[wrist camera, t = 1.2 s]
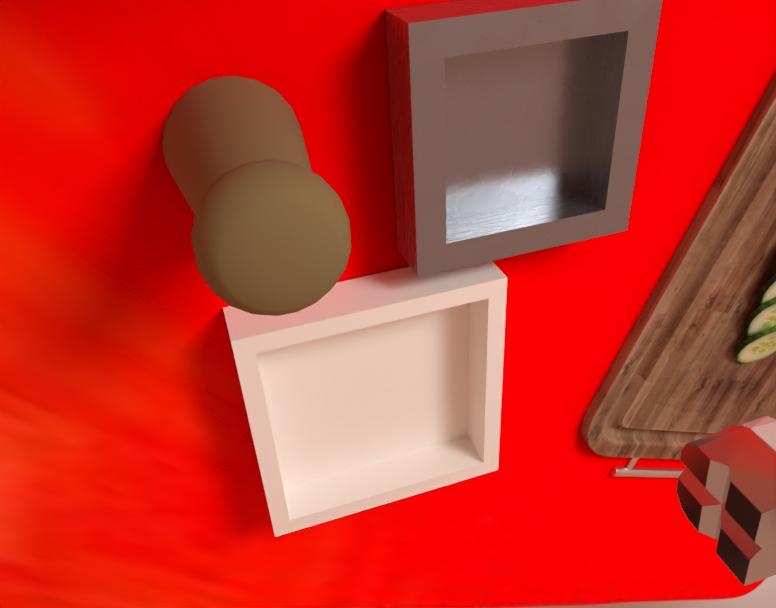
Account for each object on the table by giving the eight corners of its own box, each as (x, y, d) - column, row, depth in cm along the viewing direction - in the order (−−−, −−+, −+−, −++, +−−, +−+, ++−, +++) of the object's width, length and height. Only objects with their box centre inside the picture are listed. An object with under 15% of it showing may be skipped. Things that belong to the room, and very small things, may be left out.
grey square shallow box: (397, 249, 36) (417, 277, 34) (384, 9, 29) (408, 23, 27) (595, 207, 39) (626, 230, 36) (623, -21, 32) (664, -11, 30)
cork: (282, 58, 29) (354, 146, 20) (315, 187, 33) (390, 310, 24) (139, 98, 28) (151, 208, 19) (189, 226, 32) (219, 368, 23)
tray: (265, 498, 42) (275, 537, 40) (222, 307, 34) (231, 341, 32) (477, 437, 45) (498, 470, 43) (482, 250, 38) (507, 277, 35)
